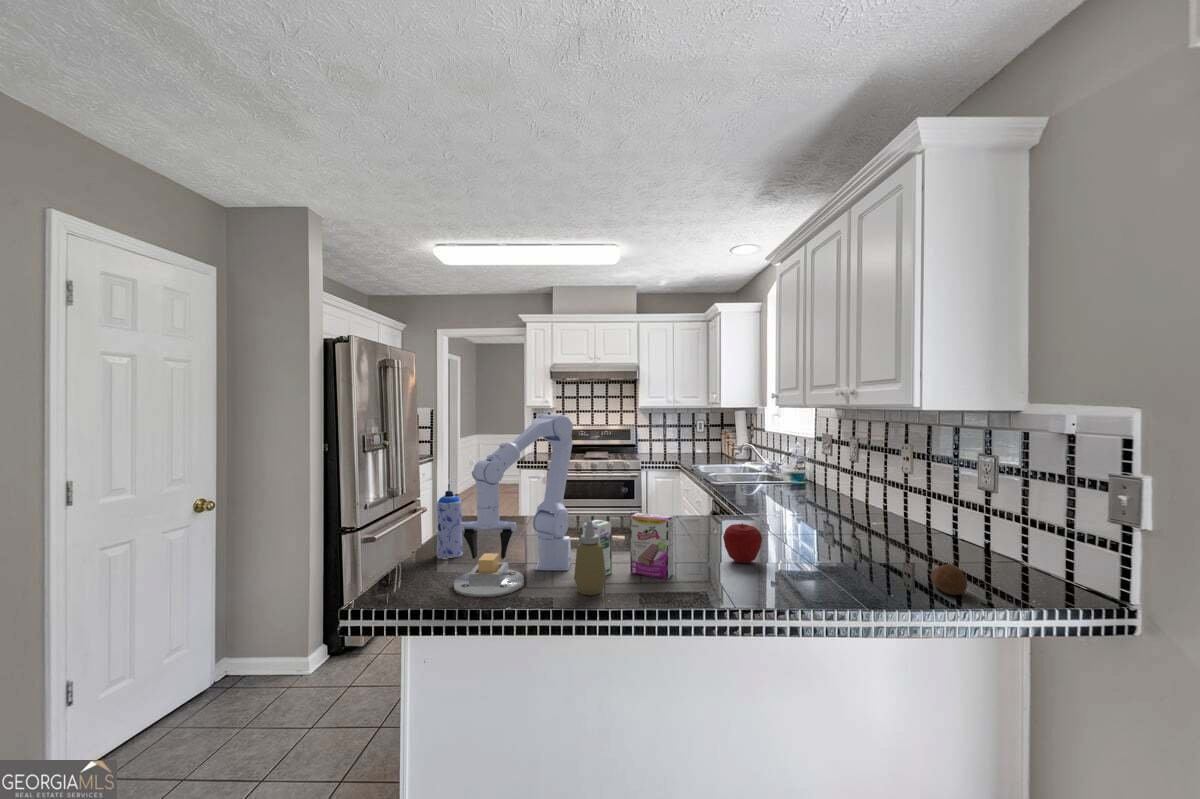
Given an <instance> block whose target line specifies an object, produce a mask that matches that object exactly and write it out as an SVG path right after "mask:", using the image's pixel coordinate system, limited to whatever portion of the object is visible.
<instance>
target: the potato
mask: <svg viewBox="0 0 1200 799" xmlns="http://www.w3.org/2000/svg"><path fill="white" fill-rule="evenodd" d="M930 580H931V583H932V584H933V585H934V586H935V587H936V589H939V590H940V591H941V592H942V593H944V594H946V595H949V596H950V595H951V596H959V595H960V596H961V595H963V594H964V593H965V592H966V590H967V586H968V579H967V578H966V576H965V574H964V572H963V571H962V569H960V568H959V567H958V566H957V565H955V564H951V563H947V564H946V563H945V564H942V565H940V566H937V567H936V568H934V569H933V570H932V571H931V574H930Z"/></svg>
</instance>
